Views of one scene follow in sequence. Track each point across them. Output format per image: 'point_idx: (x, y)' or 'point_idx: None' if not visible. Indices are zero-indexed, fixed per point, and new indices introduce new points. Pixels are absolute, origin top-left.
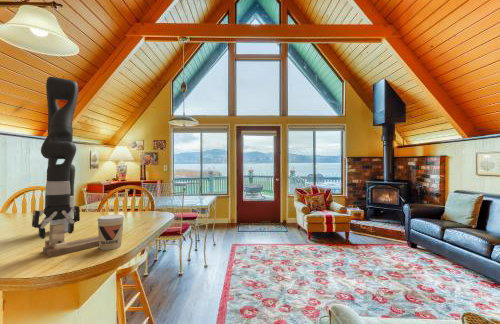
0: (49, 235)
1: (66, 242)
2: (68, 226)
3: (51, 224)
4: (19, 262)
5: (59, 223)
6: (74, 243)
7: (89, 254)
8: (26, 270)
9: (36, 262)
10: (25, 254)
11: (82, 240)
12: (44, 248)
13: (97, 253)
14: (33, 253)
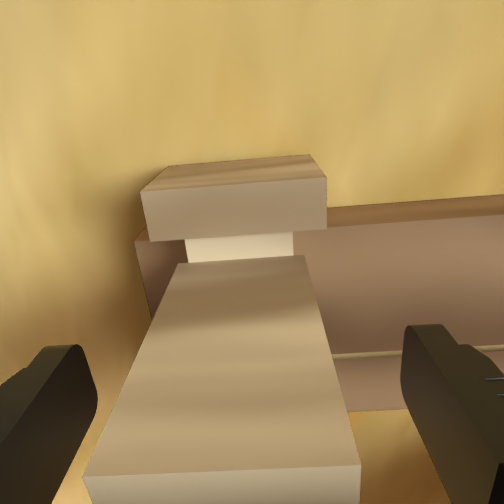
0: (159, 315)
1: (359, 233)
2: (457, 422)
3: (125, 471)
4: (3, 348)
5: (310, 489)
6: (391, 335)
7: (375, 487)
8: (56, 495)
9: (100, 418)
10: (16, 156)
11: (501, 281)
12: (144, 283)
13: (414, 501)
14: (79, 179)
